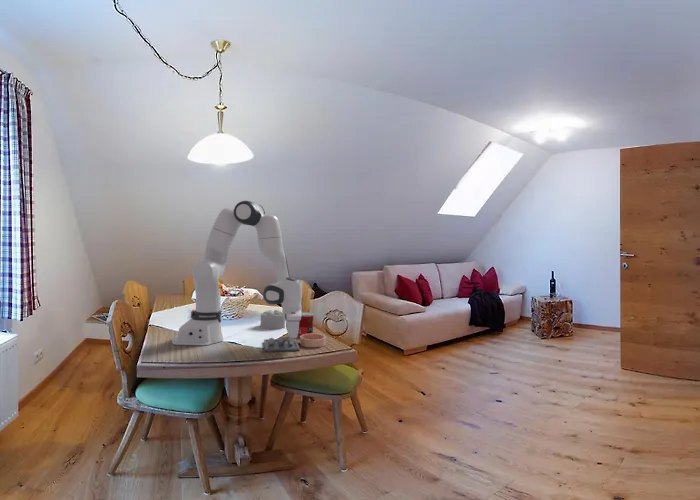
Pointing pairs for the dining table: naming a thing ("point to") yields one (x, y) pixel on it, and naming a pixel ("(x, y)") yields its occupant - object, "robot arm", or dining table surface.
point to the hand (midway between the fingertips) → (291, 342)
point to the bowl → (312, 340)
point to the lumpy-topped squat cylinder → (272, 320)
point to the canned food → (306, 323)
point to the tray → (280, 346)
